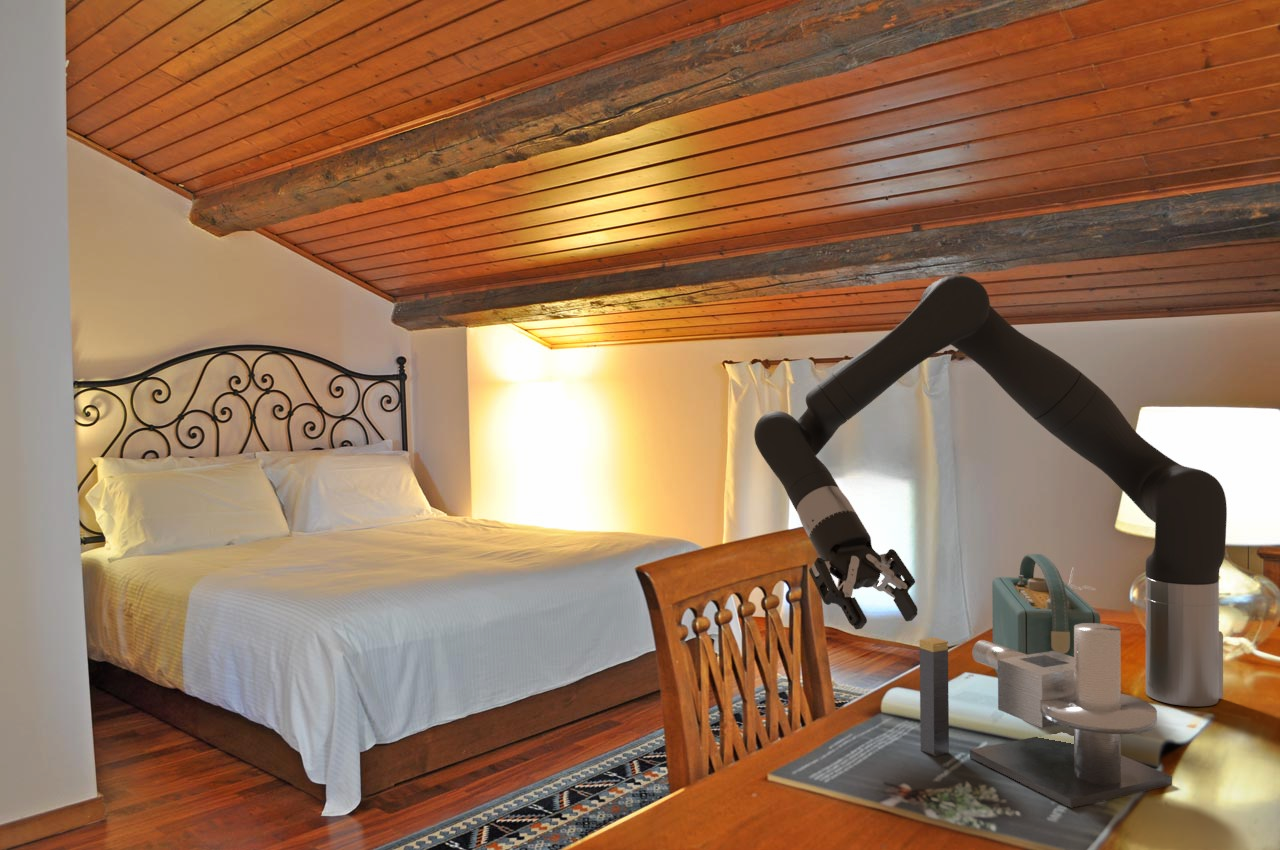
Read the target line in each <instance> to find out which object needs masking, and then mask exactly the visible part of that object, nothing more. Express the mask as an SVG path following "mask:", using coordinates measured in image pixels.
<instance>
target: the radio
mask: <svg viewBox="0 0 1280 850" xmlns="http://www.w3.org/2000/svg"><path fill="white" fill-rule="evenodd" d="M1036 564H1037V566H1038V567H1039V568H1040V569H1041V572H1042V574H1043V576H1044V577H1035V576H1034V575H1035V574H1034V573H1035V567H1036ZM991 586H992V589H991V590H992V595H991V596H992V598H991V599H992V643H994V644H997V645H1000V646H1003V647H1006V648H1009V649H1012V650H1015V651H1018V652H1021V653H1024V654H1027V655H1030V654H1036V653H1042V652H1049V651H1056V652H1059V653H1062V654H1065V655H1068V656H1072V657H1074V626H1075V625H1077V624H1082V623H1098V624H1101V615H1100V614H1099V612H1098V611H1096V609H1094V608H1093V607H1092V606H1091V605H1090V604H1088V602H1087V601H1085V599H1083V598H1082V597H1081V596H1080V595H1079V594H1078V593H1077V592H1075V591H1074V590H1073V588H1072V589H1071V588H1070V587H1069V586H1068V584H1067V583H1066V582H1065V581H1064V580H1063V578H1062V576H1061V573H1060V571H1059V569H1058V567H1057V566H1056V564H1055V563H1053V561H1052V560H1051V559H1049V558H1048V557H1047V556H1046V555H1044V554H1041V553H1037V554H1036V553H1034V554H1033V553H1027V554H1026V555H1024V556H1023V558H1022V559H1021V561H1020V565H1019V574H1018V577H1017V576H1016V577H1012V576H1011V577H1009V576H1008V577H1007V576H1006V577H1005V576H999V577H998V576H997V577H994V578H993V579H992V585H991ZM993 669H994V671H995V673H996V675H997V676H998V669H995V668H993Z"/></svg>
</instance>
